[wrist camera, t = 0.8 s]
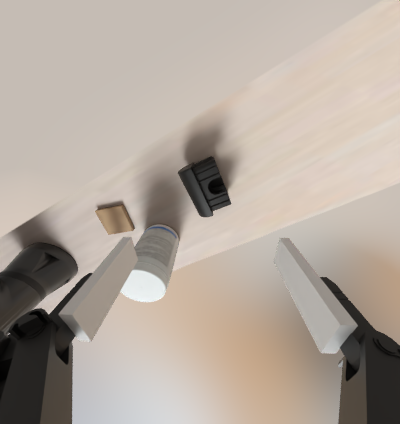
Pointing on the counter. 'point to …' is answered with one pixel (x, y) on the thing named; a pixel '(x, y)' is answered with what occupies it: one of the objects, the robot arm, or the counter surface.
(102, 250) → the counter surface
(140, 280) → the supplement tub
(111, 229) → the oak coaster
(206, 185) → the end cap
